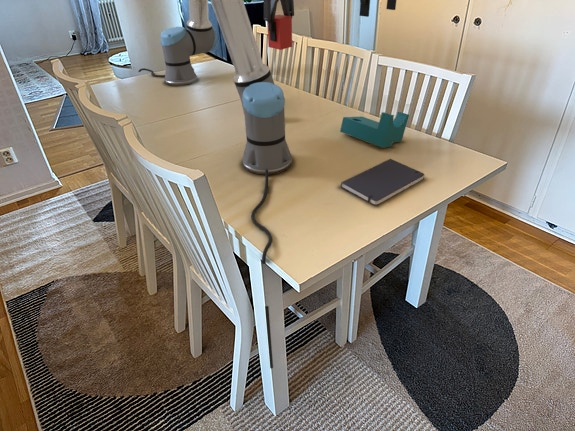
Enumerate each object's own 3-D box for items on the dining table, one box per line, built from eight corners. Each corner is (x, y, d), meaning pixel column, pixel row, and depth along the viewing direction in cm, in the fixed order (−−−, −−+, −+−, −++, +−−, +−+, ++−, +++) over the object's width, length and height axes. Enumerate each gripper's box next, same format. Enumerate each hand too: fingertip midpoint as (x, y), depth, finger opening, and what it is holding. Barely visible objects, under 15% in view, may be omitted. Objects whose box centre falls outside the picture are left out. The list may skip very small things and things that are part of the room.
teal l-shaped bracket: (400, 145, 137) (409, 114, 132) (382, 147, 129) (391, 115, 125) (358, 130, 148) (365, 101, 143) (340, 131, 140) (346, 101, 136)
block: (292, 46, 156) (291, 16, 150) (280, 49, 153) (279, 19, 146) (279, 44, 160) (279, 14, 154) (268, 47, 157) (267, 16, 150)
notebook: (389, 163, 124) (340, 187, 113) (390, 158, 123) (341, 182, 112) (424, 178, 116) (375, 206, 105) (425, 174, 115) (376, 201, 104)
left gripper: (289, -34, 149) (290, 33, 162) (249, -30, 138) (254, 42, 151) (304, -34, 144) (304, 35, 158) (264, -29, 134) (268, 45, 147)
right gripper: (399, -77, 116) (390, 5, 128) (345, -76, 101) (341, 17, 114) (423, -78, 111) (411, 8, 124) (370, -76, 97) (363, 20, 109)
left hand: (279, 38), depth 155 cm, fingers closed on block, 6 cm apart
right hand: (377, 12), depth 119 cm, fingers open, 13 cm apart
